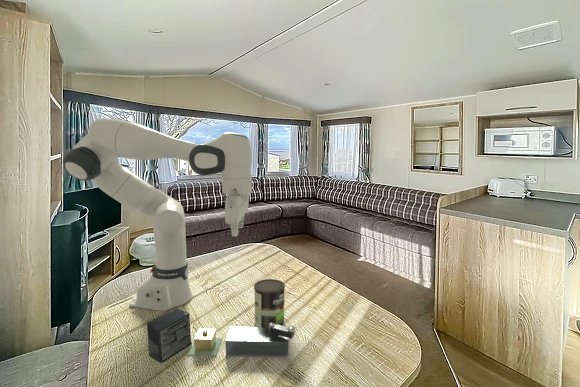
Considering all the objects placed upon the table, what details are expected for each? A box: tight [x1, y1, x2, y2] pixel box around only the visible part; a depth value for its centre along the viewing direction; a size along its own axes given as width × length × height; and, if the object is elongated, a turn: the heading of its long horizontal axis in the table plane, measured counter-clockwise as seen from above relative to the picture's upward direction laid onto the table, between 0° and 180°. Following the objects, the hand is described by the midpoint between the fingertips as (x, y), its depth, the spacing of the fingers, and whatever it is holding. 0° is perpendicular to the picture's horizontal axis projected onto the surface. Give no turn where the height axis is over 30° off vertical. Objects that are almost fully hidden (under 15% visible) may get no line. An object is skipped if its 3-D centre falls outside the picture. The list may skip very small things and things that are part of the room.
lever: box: [269, 322, 296, 340], centre depth 92 cm, size 2×8×3 cm, turn 66°
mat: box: [187, 337, 223, 357], centre depth 95 cm, size 8×8×1 cm
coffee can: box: [253, 278, 286, 327], centre depth 106 cm, size 10×10×14 cm
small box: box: [146, 307, 193, 364], centre depth 93 cm, size 11×6×10 cm, turn 145°
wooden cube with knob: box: [193, 328, 217, 352], centre depth 94 cm, size 5×5×5 cm
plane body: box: [225, 326, 290, 359], centre depth 94 cm, size 18×7×5 cm, turn 89°
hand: (237, 231), depth 97 cm, fingers open, 8 cm apart
